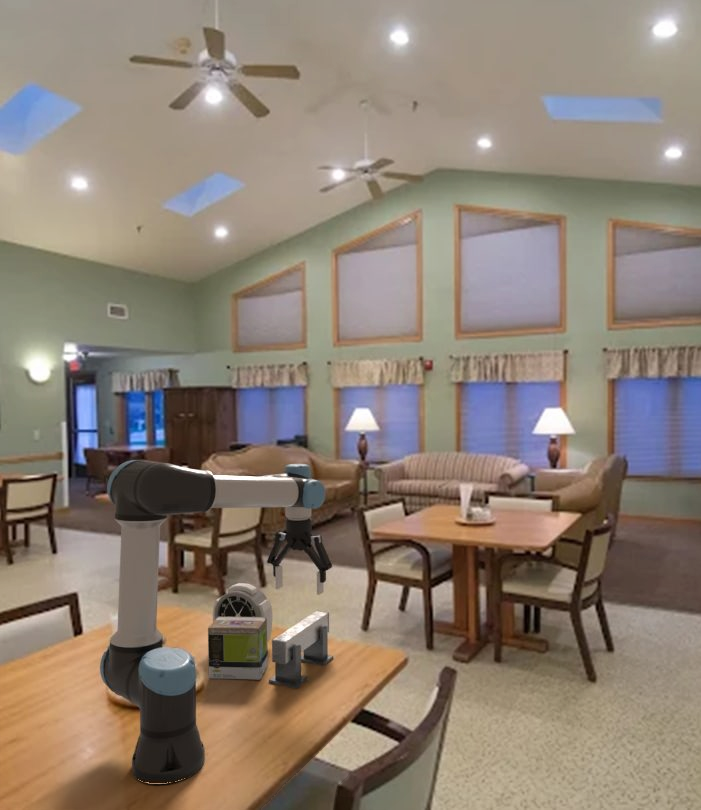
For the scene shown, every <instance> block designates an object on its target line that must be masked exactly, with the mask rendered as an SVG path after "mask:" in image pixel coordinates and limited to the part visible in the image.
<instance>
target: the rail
mask: <svg viewBox="0 0 701 810" xmlns="http://www.w3.org/2000/svg"><path fill="white" fill-rule="evenodd" d="M324 626H327V633H330V612H329V611H323V610H318V609H317V610H316V611H314V612H313V613H311V614H309V615H308V616H307V617H305V618H304V619H302V620H300V621H299V622H297V623H296V624H295V625H293V626H291V627H290V628H288V629H287V630H285V631H284V632H282V633H281V634H279V635H278V636H276V637H275V638H272V640H271V663H274V664H275V663H280V664H284V665H285V664H286V663H288V662H289V661H290V660H292V659H293V648H295V647H296V646H297V645H301V653H302V652H304V650H305V649H306V648H308V647H309V646H310V645H312V644H313V643H314V642H316V641H317V640H318V639H320V629H321V628H323V627H324Z"/></svg>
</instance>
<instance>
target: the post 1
mask: <svg viewBox="0 0 701 810" xmlns="http://www.w3.org/2000/svg"><path fill="white" fill-rule="evenodd" d="M301 655H302V652H301V645H297V646H296V647H295V648H293V659H292V660H290V661H289V662H288V663H286V664H285V665H284V664H280V663H275V662H274V665H275V666H274V668H275V669H274V672H275V674H274V675H273V676H271V677H270V678H269V679H268V683H269V684H274V685H278V686H283V687H287V688H291V689H297V690H298V688H300V687H301V686H302V685H304V683H306V682H307V681H308V680H309V677H308V676H305V675H302V661H301Z"/></svg>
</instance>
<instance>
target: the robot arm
mask: <svg viewBox="0 0 701 810" xmlns="http://www.w3.org/2000/svg"><path fill="white" fill-rule="evenodd" d="M106 486H107V487H106V492H107V495H108V499H109V500H110V501H111V503H112V504H113V505H114V521H115V522H117V524H119V525H120V530H121V533H120V552H119V553H120V556H119V557H120V558H119V579H118V581H119V582H118V605H117V606H118V607H117V608H118V609H117V630H116V632H115V633H114V634H112V636H110V638H109V645H108V646H107V649H106V651H104V652H103V654H102V657H101V659H100V663H99V674H100V677H101V680H102V682H103V683H104V684H105V685H106V687H108V689H109V690H110V691H111V692H112V693H114V694H115V695H117V696H121V697H122V698H124V699H125V700H126V701H128V702H130V703H131V704H133V705H135V706H136V707H138V708H139V735H138V738H137V741H136V745H135V747H134V748H135V749H134V752H133V755H132V758H131V774H132V773H133V774H132V776H133V775H134V776H135V777H136V778H137V779H139V780H141V781H143V782H149V783H167V782H168V783H169V782H175V781H178V780H181V779H184V778H187V777H189V776H190V777H192V776H194V775H195V774H196V773H198V772H199V771H200V770H201V769H202V767H203V765H204V764H205V759H206V757H205V756H206V755H205V754H206V753H205V752H206V751H205V749H206V748H205V745H204V743H203V741H202V740H201V736H200V732H199V728H198V725H197V668H196V662H195V658H194V657H193V655H192V654H191V653H190V652H189V651H187V650H185V649H183V648H179V647H175V648H173V647H172V646H163V642H164V641H163V640H164V638H163V637H164V636H163V633H162V631H160V630H159V629H157V621H158V620H157V619H158V596H159V595H158V592H159V570H160V569H159V566H160V565H159V563H160V542H161V541H160V539H161V538H160V537H161V536H160V535H161V526H162V525H163V523H165V521H167V519H168V516H173V515H174V516H175V515H184V514H186V515H187V514H197V513H199V514H200V513H203V514H204V513H207V512H209V511H210V510H211V509H229V508H231V509H237V508H239V509H241V508H242V509H243V508H244V509H245V508H246V509H247V508H285V517H286V518H285V531H286V533H284V531H279V532H277V533H276V536H275V541H274V544H273V546H272V548H271V550H270V553H269V555H268V558H267V560H266V562H267V564H270V565H271V566H272V568H273V569H272V570H273V571H272V573H273V574H272V575H273V577H274V578H275V589H276V590H280V589H281V588H282V587H283V586H284V584H283V581H284V580H283V578H284V577H283V564H282V561H283V560H284V559H285V558H286V557H287V555H288V553H289V552H290V551H291V550H292V551H299V552H302V551H304V553H306V554H307V555H308V557H309V558H310V559H311V561H312V562H313V564H314V565H315V567H316V568H317V569H318V570H317V571H316V595H318V596H320V595H321V594H323V593H324V583H325V582H326V581H327V571H329V570H331V569H332V568H333V564H332V562H331V559H330V558H329V555H328V553H327V551H326V548H325V547H324V546H325V545H324V543H323V538H322V535H320V534H319V535H315V536H314V535H312V518H311V517H312V509H314V510H316V509H318V508H320V507H322V505H323V504H324V502H325V501H326V493H327V492H326V487H325V485H324V484H323V483H322V481H320V480H317V479H314V478H312V471H311V466H310V465H308V464H306V463H291V464H287V465H286V466H285V467H284V471H283V473H277V474H276V473H275V474H266V475H265V474H263V475H261V476H249V475H248V476H246V475H225V474H224V475H223V474H221V475H219V474H213V473H212V472H211V471H210V470H207V469H206V470H205V469H194V468H191V467H185V466H180V465H177V464H172V463H167V462H160V461H153V460H148V459H133V460H127V461H125V462H123V463H121V464H120V465H118V466H117V467H116V468H115V469H114V470H113V471H112V472H111V474H110V475H109V478H108V481H107V485H106ZM285 540H286V544H285V546H284V547H283V548H282V550H281V552H280V553H279V551H280V549H281V547H282V544H283V542H284V541H285ZM312 543H313V544H312ZM313 545H314V546H315V547H314V546H313ZM199 769H200V770H199ZM198 770H199V771H198ZM197 771H198V772H197ZM195 772H196V773H195ZM194 773H195V774H194ZM193 774H194V775H193ZM191 775H192V776H191ZM134 776H133V777H134ZM135 777H134V778H135ZM190 777H189V778H190ZM136 778H135V779H136ZM137 779H136V780H137ZM187 779H188V778H187ZM184 780H185V779H184Z"/></svg>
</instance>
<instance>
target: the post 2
mask: <svg viewBox="0 0 701 810" xmlns="http://www.w3.org/2000/svg"><path fill="white" fill-rule="evenodd" d="M328 633H329V632H328ZM328 633H327V626H324V627H323V628H321V629H320V639H318V640H317V641H316V642H314V643H313V644H312V645H310V646H309V647H308V648H306V649H305V650H304V651H303V654H302V653H301V663H302V662H303V663H307V664H308V663H309V664H314V665H319V666H323V667H324V666H326V665H327V664H328V663H330V662H331V661H332V660H333V659H334V654H333V655H332V654H329V653H328V651H329V648H328V643H329V642H328V639H329V638H328V636H329V635H328Z"/></svg>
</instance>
